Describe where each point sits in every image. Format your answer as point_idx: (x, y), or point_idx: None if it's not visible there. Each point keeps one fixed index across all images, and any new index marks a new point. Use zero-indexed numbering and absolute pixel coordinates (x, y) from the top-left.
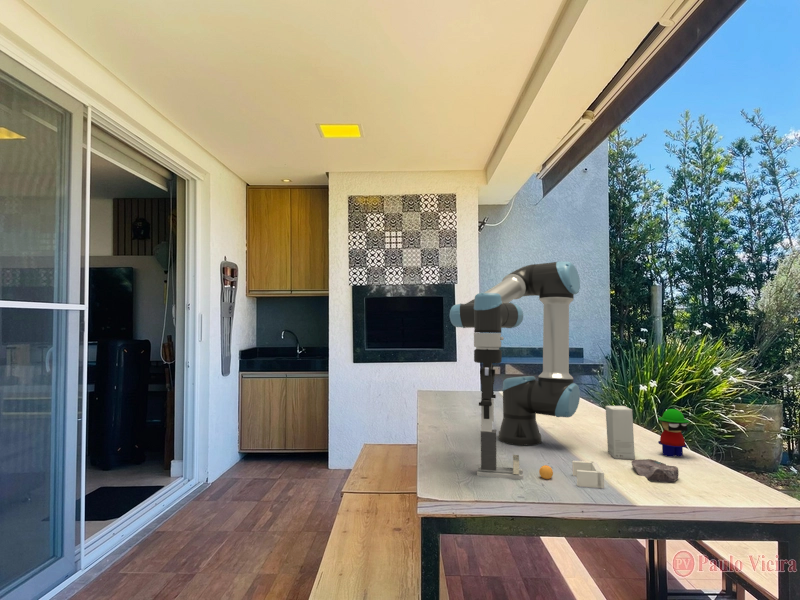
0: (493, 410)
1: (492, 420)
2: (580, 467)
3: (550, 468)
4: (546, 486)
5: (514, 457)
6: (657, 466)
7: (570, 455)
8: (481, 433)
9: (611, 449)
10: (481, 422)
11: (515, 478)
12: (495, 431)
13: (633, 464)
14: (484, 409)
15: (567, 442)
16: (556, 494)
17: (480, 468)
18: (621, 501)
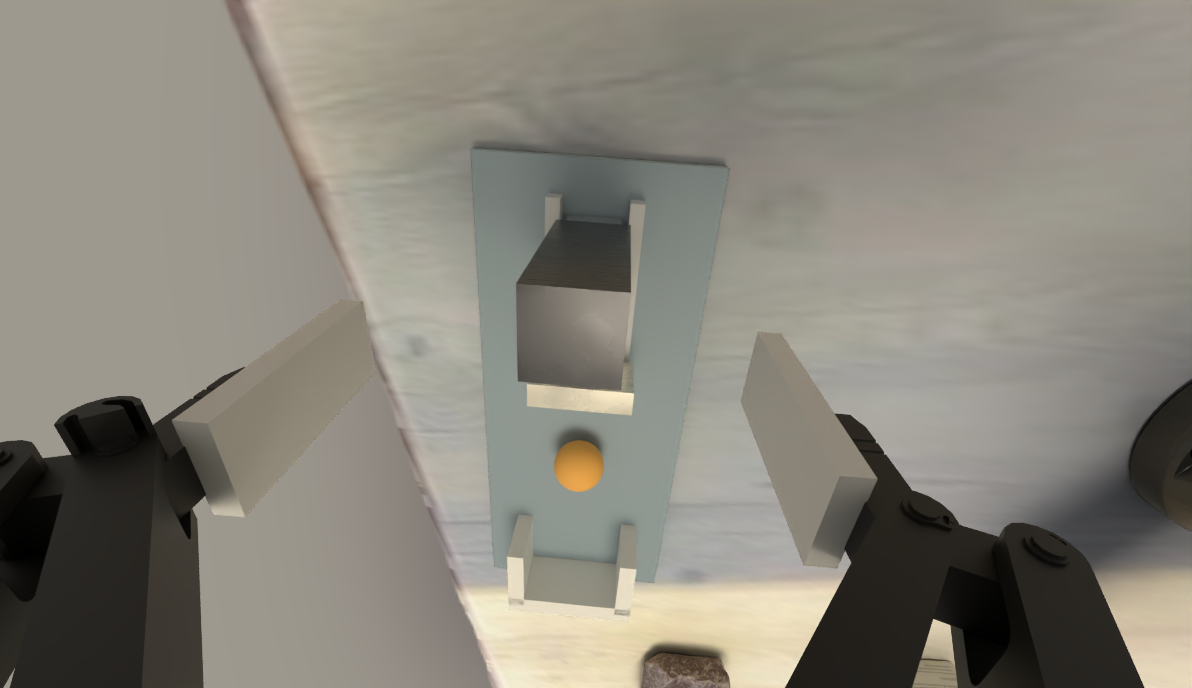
0: (766, 464)
1: (743, 400)
2: (618, 568)
3: (568, 489)
4: None
5: (584, 394)
6: None
7: None
8: (517, 285)
9: None
10: (298, 330)
11: None
12: (562, 382)
13: (695, 681)
14: (164, 428)
15: (1133, 594)
16: (477, 449)
17: (629, 214)
18: (474, 572)
